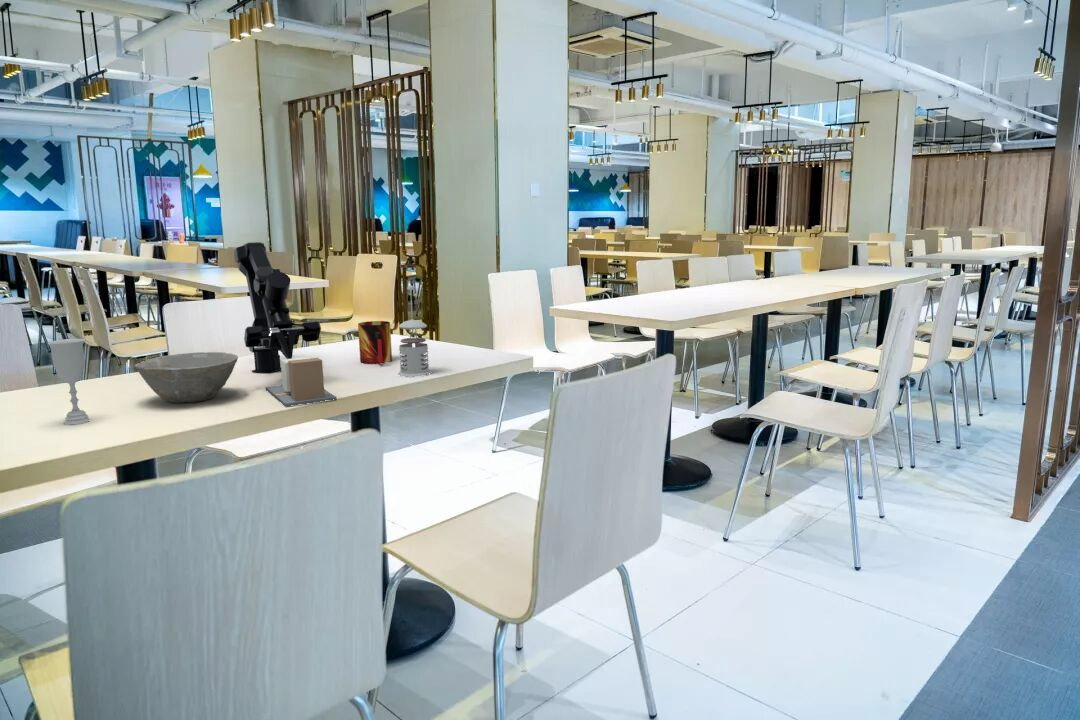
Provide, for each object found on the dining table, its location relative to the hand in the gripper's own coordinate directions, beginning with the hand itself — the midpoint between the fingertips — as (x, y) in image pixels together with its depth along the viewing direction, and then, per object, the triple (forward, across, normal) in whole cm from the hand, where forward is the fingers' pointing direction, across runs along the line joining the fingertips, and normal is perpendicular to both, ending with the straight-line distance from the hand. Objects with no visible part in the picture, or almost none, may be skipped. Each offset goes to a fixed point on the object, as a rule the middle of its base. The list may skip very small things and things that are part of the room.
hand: (290, 359), depth 191 cm
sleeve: (+10, 0, +2) cm, 10 cm away
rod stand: (+11, 0, 0) cm, 11 cm away
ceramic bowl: (+3, +24, -8) cm, 25 cm away
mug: (-11, -32, -23) cm, 41 cm away
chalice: (+9, +48, -2) cm, 49 cm away
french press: (+5, -34, -7) cm, 35 cm away
